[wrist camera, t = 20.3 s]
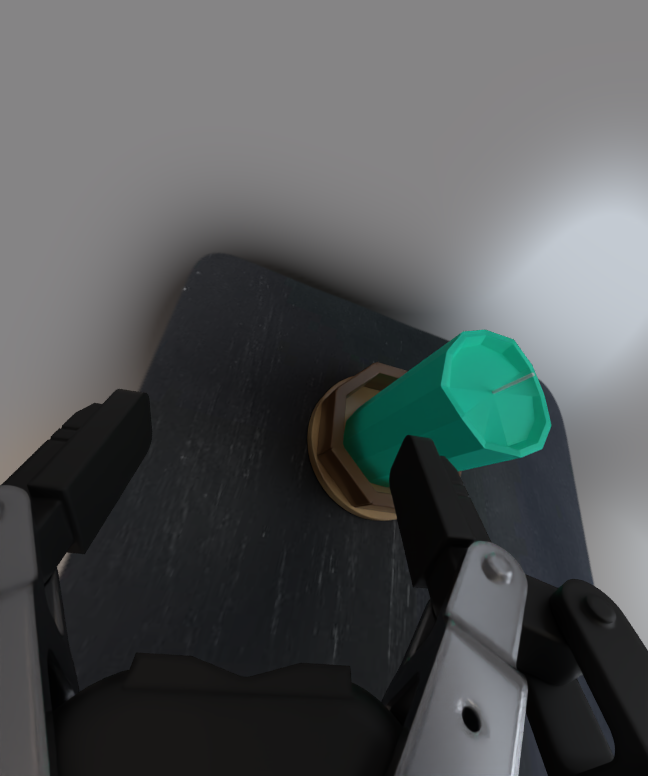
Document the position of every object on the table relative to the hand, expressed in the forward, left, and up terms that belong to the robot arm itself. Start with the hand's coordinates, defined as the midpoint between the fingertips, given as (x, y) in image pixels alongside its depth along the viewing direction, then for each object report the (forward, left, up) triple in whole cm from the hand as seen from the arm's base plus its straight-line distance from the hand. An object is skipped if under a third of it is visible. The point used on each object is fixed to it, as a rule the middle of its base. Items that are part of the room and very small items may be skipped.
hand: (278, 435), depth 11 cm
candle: (+4, +9, -10) cm, 14 cm away
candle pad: (+4, +9, -11) cm, 15 cm away
